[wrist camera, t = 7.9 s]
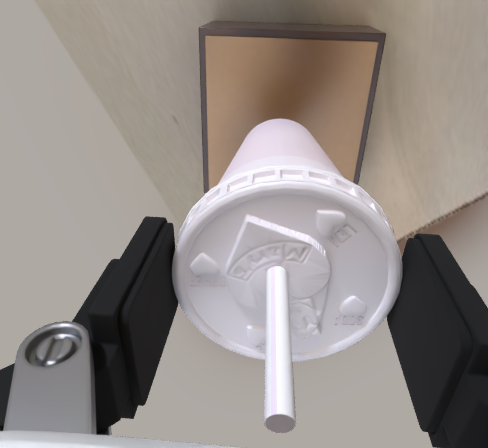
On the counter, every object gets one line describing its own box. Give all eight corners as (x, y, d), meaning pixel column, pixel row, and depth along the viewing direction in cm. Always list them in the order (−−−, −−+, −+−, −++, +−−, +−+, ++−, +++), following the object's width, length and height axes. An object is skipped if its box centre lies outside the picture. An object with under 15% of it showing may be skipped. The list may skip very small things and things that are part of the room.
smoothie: (319, 62, 17) (437, 249, 5) (363, 187, 20) (506, 499, 8) (188, 123, 19) (39, 373, 7) (246, 230, 21) (215, 541, 9)
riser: (369, 26, 25) (387, 33, 21) (345, 173, 30) (355, 204, 26) (211, 20, 26) (197, 27, 21) (214, 166, 31) (203, 195, 26)
